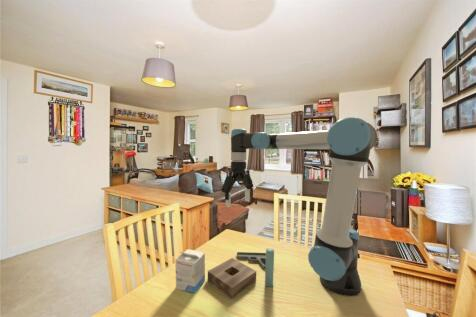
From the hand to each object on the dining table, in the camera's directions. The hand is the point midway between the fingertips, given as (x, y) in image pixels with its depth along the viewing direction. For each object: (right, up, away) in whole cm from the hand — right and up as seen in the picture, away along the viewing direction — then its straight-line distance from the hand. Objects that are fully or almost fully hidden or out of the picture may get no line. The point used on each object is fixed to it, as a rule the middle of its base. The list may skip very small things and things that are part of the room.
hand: (238, 203), depth 101 cm
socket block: (-3, -27, -18) cm, 33 cm away
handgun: (+8, -27, -4) cm, 29 cm away
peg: (+12, -28, -19) cm, 36 cm away
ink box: (-19, -28, -20) cm, 39 cm away
